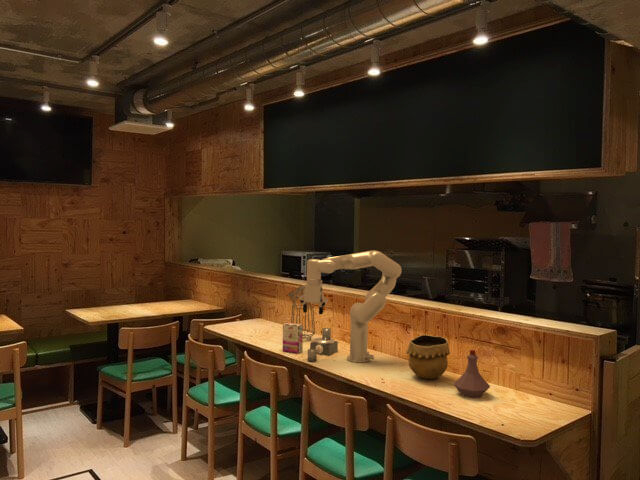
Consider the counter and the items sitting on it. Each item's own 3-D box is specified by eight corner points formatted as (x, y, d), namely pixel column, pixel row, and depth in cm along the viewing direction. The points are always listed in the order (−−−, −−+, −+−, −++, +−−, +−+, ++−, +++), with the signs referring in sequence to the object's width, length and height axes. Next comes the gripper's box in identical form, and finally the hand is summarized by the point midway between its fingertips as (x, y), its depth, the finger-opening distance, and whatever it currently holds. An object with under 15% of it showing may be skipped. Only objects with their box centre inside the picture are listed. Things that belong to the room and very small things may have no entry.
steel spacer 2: (332, 338, 313) (332, 328, 312) (328, 340, 308) (328, 330, 308) (324, 337, 315) (324, 327, 315) (320, 339, 310) (320, 329, 310)
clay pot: (436, 387, 247) (437, 345, 246) (397, 378, 261) (398, 338, 260) (457, 378, 263) (458, 338, 262) (419, 369, 277) (420, 331, 276)
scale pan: (337, 341, 312) (337, 339, 312) (328, 345, 301) (328, 343, 301) (319, 338, 317) (319, 336, 317) (310, 342, 306) (310, 340, 306)
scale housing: (337, 351, 312) (337, 341, 312) (328, 356, 301) (328, 345, 300) (319, 348, 317) (319, 338, 317) (309, 353, 306) (309, 342, 306)
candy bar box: (302, 352, 308) (303, 324, 308) (298, 354, 304) (299, 325, 303) (286, 349, 313) (287, 322, 313) (282, 351, 309) (282, 323, 308)
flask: (474, 403, 227) (476, 357, 226) (444, 392, 240) (446, 349, 240) (498, 396, 237) (499, 352, 236) (468, 386, 250) (469, 344, 249)
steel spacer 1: (318, 360, 291) (318, 349, 291) (313, 362, 286) (314, 351, 286) (310, 359, 293) (310, 348, 293) (305, 361, 289) (306, 350, 288)
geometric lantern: (318, 341, 336) (319, 287, 334) (295, 344, 329) (295, 288, 327) (308, 336, 350) (308, 283, 348) (286, 338, 343) (286, 285, 341)
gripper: (330, 282, 287) (330, 313, 288) (303, 280, 295) (302, 310, 296) (324, 283, 281) (323, 315, 281) (296, 281, 289) (295, 312, 289)
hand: (312, 313), depth 289 cm, fingers open, 9 cm apart
